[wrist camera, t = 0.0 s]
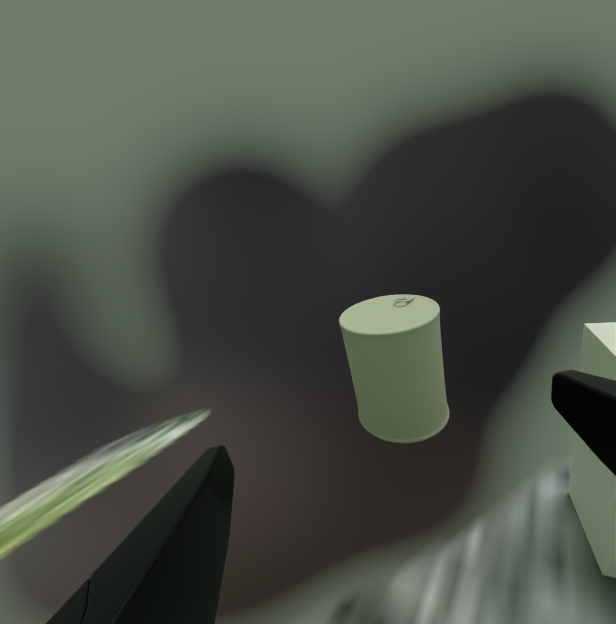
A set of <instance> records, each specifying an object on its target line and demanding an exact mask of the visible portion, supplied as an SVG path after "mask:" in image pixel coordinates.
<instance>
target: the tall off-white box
mask: <svg viewBox="0 0 616 624" xmlns="http://www.w3.org/2000/svg"><path fill="white" fill-rule="evenodd" d="M580 372H583V373H587V374H591V375H595V376H599V377H604V378H608V379H612V380H616V322H615V323H614V322H613V323H589V324H584V331H583V342H582V353H581V364H580ZM569 495H570V497H571V500H572V502H573V505H574V507H575V509H576V512H577V514H578V517H579V519H580V522H581V524H582V526H583V529H584V531H585V534H586V536H587V539H588V541H589V543H590V546H591V548H592V551H593V553H594V556H595V558H596V560H597V563H598V565H599V568H600V570H601V573H602V575H605V576H609V577H614V578H616V476H615V475H614V474H613V473H612V472H611V471H610V470H609V469H608V468H607V467H606V466H605V465H604V464H603V463H602V462H601V461H600V460H599V458H598V457H597V456H596V455H595V454H594V453H593V452H592V451H591V449H590V448H589V447H588V446H587V445H586V444H585V442H584V441H583V440H582V439H581V438H580V437H579V435H578V434H577V433H576V432H575V431H574V441H573V452H572V462H571V473H570V484H569Z"/></svg>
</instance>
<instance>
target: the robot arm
mask: <svg viewBox="0 0 616 624" xmlns="http://www.w3.org/2000/svg"><path fill="white" fill-rule="evenodd" d="M551 400H552V403H553V405H554V407H555V409H556V410H557V411H558V412H559V413H560V414H561V416H562V417H563V418H564V419H565V420H566V421H567V423H568V424H569V425H570V426H571V427H572V428H573V429H574V431H575V432H576V433H577V434H578V435H579V437H580V438H581V439H582V440H583V441H584V442H585V444H586V445H587V446H588V447H589V448H590V449H591V451H592V452H593V453H594V454H595V455H596V456H597V457H598V458H599V460H600V461H601V462H602V463H603V464H604V465H605V466H606V467H607V468H608V469H609V470H610V471H611V472H612V473H613V474H614V475H615V476H616V380H612V379H608V378H604V377H599V376H595V375H591V374H587V373H583V372H579V371H575V370H566V371H562V372H558V373H555V374H554V375H553V377H552V392H551ZM233 488H234V467H233V464H232V462H231V460H230V457H229V455H228V452H227V450H226V448H225V446H223V445H217V446H213V447H210V448H208V449H207V450H206V451H205V452H204V453H203V454H202V455H201V456H200V457H199V458H198V459H197V460H196V462H195V463H194V464H193V465H192V466H191V467H190V468H189V469H188V470H187V471H186V472H185V473H184V475H183V476H182V477H181V478H180V479H179V480H178V481H177V482H176V483H175V484H174V485H173V486H172V488H171V489H170V490H169V491H168V492H167V493H166V494H165V495H164V496H163V498H162V499H161V500H160V501H159V502H158V503H157V504H156V505H155V506H154V507H153V508H152V509H151V510H150V511H149V513H148V514H147V515H146V516H145V517H144V518H143V519H142V520H141V521H140V522H139V523H138V525H137V526H136V527H135V528H134V529H133V530H132V531H131V532H130V533H129V534H128V535H127V537H126V538H125V539H124V540H123V541H122V542H121V543H120V544H119V545H118V546H117V547H116V549H115V550H114V551H113V552H112V553H111V554H110V555H109V556H108V557H107V558H106V559H105V560H104V561H103V563H102V564H101V565H100V566H99V567H98V568H97V569H96V570H95V571H94V572H93V573H92V575H91V577H90V579H87V580H86V581H85V582H84V583H83V584H82V585H81V586H80V588H79V589H78V590H77V591H76V592H75V593H74V594H73V595H72V596H71V597H70V598H69V599H68V600H67V602H65V604H64V605H63V606H62V607H61V608H60V609H59V610H58V611H57V612H56V613H55V614H54V615H53V616H52V617H51V619H50V620H48V622H47V623H46V624H215V618H216V612H217V607H218V600H219V595H220V589H221V584H222V578H223V572H224V567H225V561H226V555H227V549H228V543H229V537H230V527H231V513H232V501H233Z"/></svg>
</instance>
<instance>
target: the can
mask: <svg viewBox="0 0 616 624" xmlns="http://www.w3.org/2000/svg"><path fill="white" fill-rule="evenodd" d="M439 313H440V308H439V305H438V304H437V303H436V302H435V301H433V300H432V299H429V298H427V297H423V296H417V295H389V296H382V297H377V298H373V299H369V300H366V301H363V302H361V303H358V304H355V305H354V306H352V307H350V308H348V309H347V310H346V311H344V312H343V313H342V315H341V316H340V319H339V324H340V326H341V330H342V334H343V338H344V342H345V347H346V351H347V355H348V360H349V365H350V369H351V374H352V379H353V384H354V389H355V394H356V399H357V403H358V416H359V419H360V422H361V424H362V425H363V427H364V428H365V429H366V430H367V431H368V432H369V433H371V434H372V435H373V436H375V437H378V438H379V439H382V440H385V441H388V442H393V443H415V442H420V441H424V440H427V439H429V438H431V437H433V436H435V435H436V434H438V433H439V432H440V431H441V430H442V429H443V428H444V427H445V425H446V424H447V422H448V419H449V408H448V404H447V400H446V392H445V383H444V382H445V381H444V370H443V358H442V346H441V334H440V318H439Z"/></svg>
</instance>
